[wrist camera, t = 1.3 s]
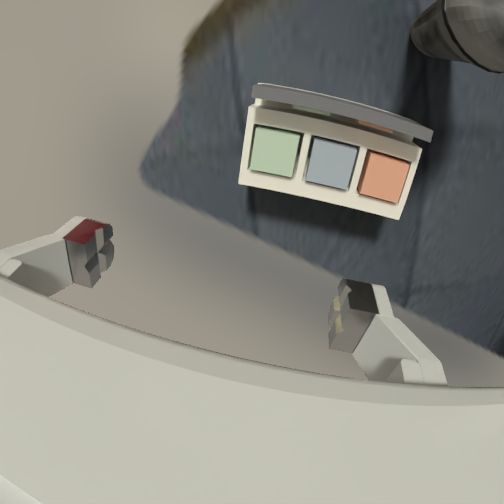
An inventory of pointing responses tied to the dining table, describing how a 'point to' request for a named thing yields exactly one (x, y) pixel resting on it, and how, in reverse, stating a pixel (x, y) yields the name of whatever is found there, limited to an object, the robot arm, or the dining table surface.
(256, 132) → the key sage
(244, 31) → the dining table surface
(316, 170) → the key slate
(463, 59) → the beverage cup
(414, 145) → the keypad console
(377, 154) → the key terracotta
